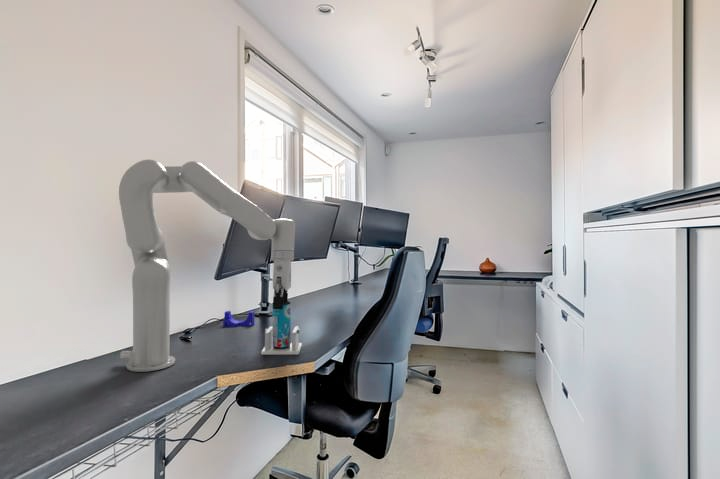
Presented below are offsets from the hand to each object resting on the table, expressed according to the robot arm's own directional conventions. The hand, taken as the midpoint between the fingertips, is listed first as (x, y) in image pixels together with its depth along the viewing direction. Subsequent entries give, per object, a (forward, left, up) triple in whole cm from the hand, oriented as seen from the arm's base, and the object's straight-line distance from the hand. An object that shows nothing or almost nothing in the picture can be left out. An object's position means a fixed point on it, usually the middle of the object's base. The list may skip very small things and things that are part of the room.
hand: (280, 306), depth 131 cm
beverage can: (0, 0, -14) cm, 14 cm away
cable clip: (-24, +37, -15) cm, 47 cm away
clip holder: (+1, 0, -15) cm, 15 cm away
